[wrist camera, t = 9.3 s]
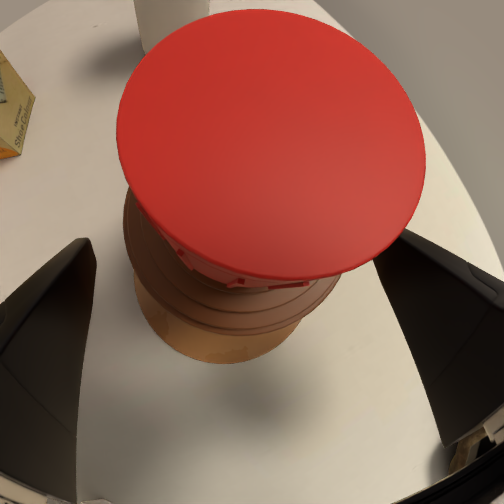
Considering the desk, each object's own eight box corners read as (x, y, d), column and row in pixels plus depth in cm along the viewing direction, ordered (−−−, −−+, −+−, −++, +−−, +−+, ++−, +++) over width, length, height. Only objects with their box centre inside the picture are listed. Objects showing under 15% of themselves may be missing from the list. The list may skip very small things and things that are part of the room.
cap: (374, 202, 7) (464, 151, 4) (246, 331, 6) (284, 366, 3) (255, 82, 7) (282, -16, 4) (116, 184, 6) (57, 105, 3)
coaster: (343, 279, 18) (346, 279, 18) (218, 396, 16) (219, 398, 16) (232, 155, 18) (232, 152, 18) (101, 264, 16) (99, 263, 16)
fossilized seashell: (484, 385, 16) (414, 492, 16) (550, 415, 11) (472, 527, 11) (492, 382, 21) (439, 469, 21) (543, 405, 15) (486, 496, 15)
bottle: (305, 258, 18) (503, 180, 4) (221, 338, 16) (267, 477, 3) (228, 176, 18) (275, -35, 4) (142, 250, 17) (-13, 135, 3)
